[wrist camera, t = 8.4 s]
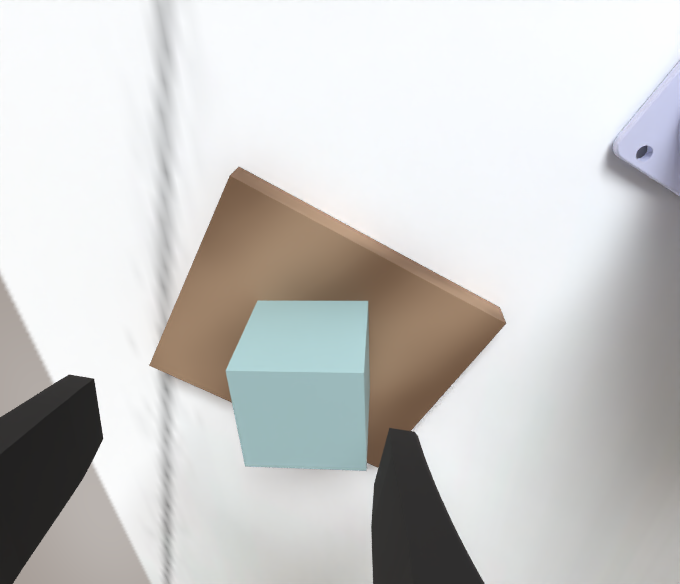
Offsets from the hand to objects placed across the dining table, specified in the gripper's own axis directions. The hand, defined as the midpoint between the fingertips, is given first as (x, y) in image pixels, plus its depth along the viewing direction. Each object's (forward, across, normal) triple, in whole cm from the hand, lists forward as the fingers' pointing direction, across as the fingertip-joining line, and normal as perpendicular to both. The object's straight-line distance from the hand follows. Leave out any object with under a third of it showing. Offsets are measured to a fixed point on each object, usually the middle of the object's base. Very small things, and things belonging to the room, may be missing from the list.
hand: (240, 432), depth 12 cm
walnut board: (+9, -1, +3) cm, 10 cm away
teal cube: (+8, -1, +3) cm, 9 cm away
